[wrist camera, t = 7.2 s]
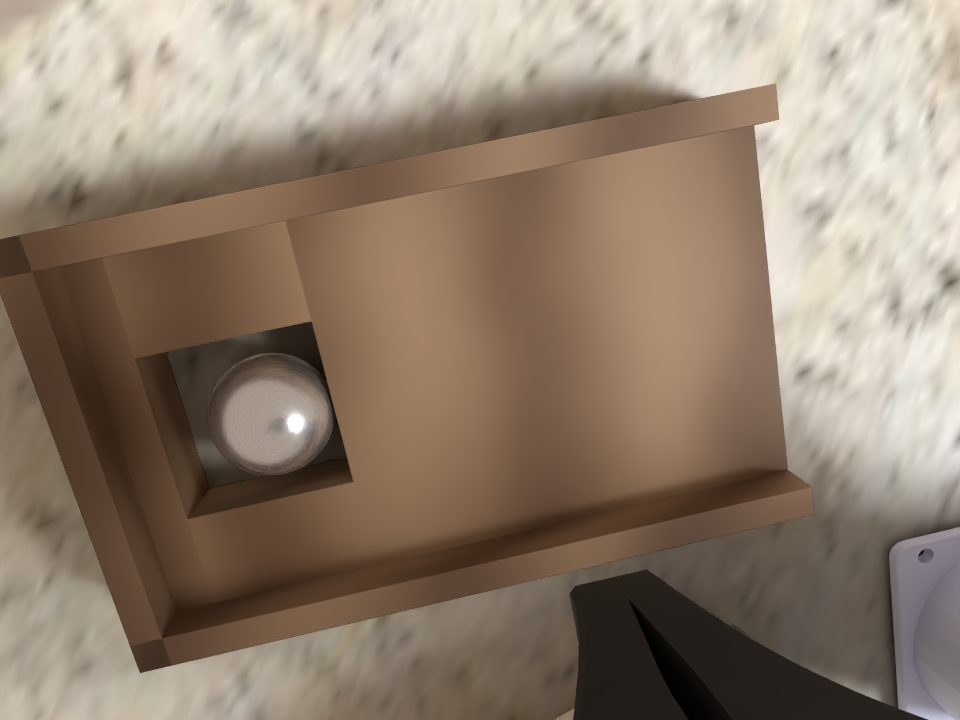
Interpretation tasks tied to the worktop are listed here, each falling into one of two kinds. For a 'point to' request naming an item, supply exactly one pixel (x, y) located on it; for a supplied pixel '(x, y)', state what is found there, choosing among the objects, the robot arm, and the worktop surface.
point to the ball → (271, 414)
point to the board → (425, 373)
